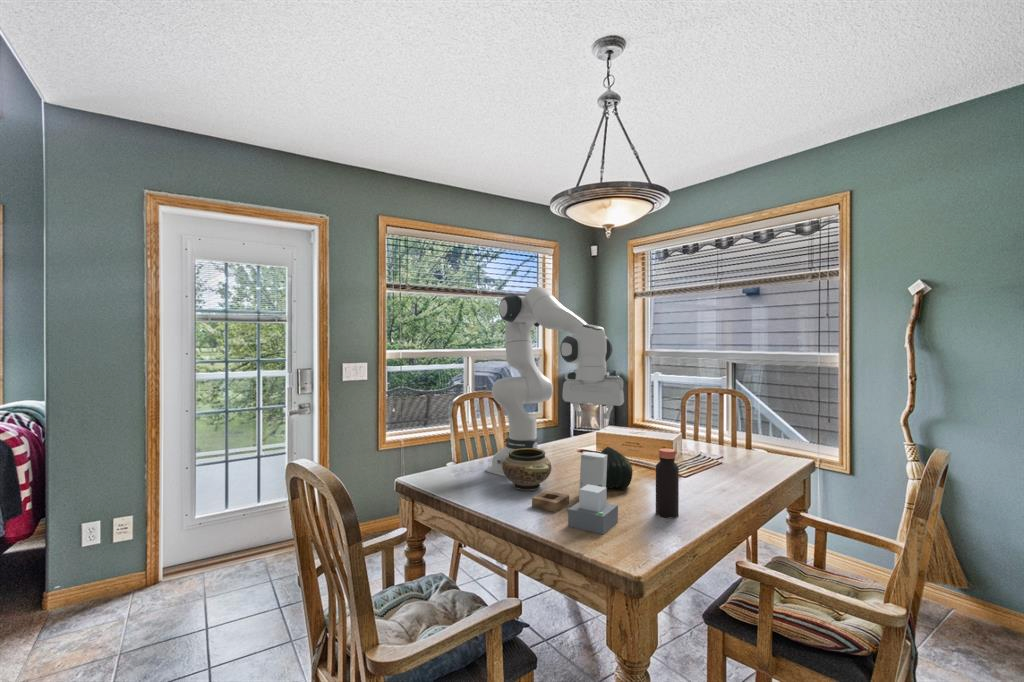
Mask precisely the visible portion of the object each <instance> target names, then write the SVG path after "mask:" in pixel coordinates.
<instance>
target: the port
mask: <svg viewBox="0 0 1024 682" xmlns="http://www.w3.org/2000/svg"><path fill="white" fill-rule="evenodd" d="M618 522H619V504H614V503H608V502H606V507H605V508H603V509H602V510H601V511H599V512H596V511H591V510H586V509H581V508H579V501H578V502H577V503H575V504H573V505H572V506H571V507H569V508H568V509H567V527H570V528H573V529H580V530H583V531H587V532H591V533H595V534H599V535H600V534H601V535H605V533H607V532H609V531H610V530H611V529H612V528H613V527H614V526H615V525H616V524H617V523H618Z"/></svg>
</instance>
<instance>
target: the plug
mask: <svg viewBox="0 0 1024 682" xmlns="http://www.w3.org/2000/svg"><path fill="white" fill-rule="evenodd" d="M607 490H608V489H607V488H606V487H601V486H595V485H589V484H587V485H586V486H584V487H582V488H581V489H580V488H579V492H578V494H579V495H578V498H579V499H578V500H579V501H578V502H579V508H581V509H586V510H591V511H596V512H599V511H601V510H602V509H603V508H605V507H606V503H608V502H607V500H608V499H607Z"/></svg>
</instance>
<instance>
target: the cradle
mask: <svg viewBox="0 0 1024 682" xmlns="http://www.w3.org/2000/svg"><path fill="white" fill-rule="evenodd" d="M568 504H569V505H570V495H569V494H564V493H560V492H554V491H551V490H544V491H542V492H540V493H538V494H536V495H535V496H533V497H531V507H532V508H534V507H536V508H535V509H538V508H540V510H543V509H545V510H544V511H548V510H549V512H552V511H553V513H558V512H560V511H562V510H563V509H564V508H566V507H567V506H569V505H568ZM559 510H560V511H559Z"/></svg>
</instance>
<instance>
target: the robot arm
mask: <svg viewBox="0 0 1024 682" xmlns="http://www.w3.org/2000/svg"><path fill="white" fill-rule="evenodd" d="M498 312H499V316H500V317H501V319H502V321H505V322H506V324H505V330H504V331H505V332H504V342H505V343H504V344H505V356H506V362H507V364H508V366H510V367H512V368H513V369H515V370H517V371H518V373H519V375H520V376H508V377H507V376H506V377H502V378H499V379H496V380H495V382H494V383H493V384H492V387H491V395H492V397H493V400H494V401H495V402H496V403H497V404H498V405H500V407H501V408H502V409H503V410H504V411H505V413H506V415H507V420H508V434H509V436H508V437H507V438H504V440H503V443H505V446H503V448H501V449H500V450H499V451H497V452H495V454H494V455H493V457H492V458H491V465H488V466H486V468H485V471H486V472H487V473H491V474H495V475H498V476H502V477H505V478H507V477H506V476H505V474H504V472H503V469H502V465H503V462H504V460H505V459H506V456H508V455H509V452H510V451H511V450H514V449H521V448H535V449H539V447H538V445H539V444H538V443H539V442H538V441H539V440H538V437H537V419H536V417H535V416H534V415H533V414H531V413H530V412H528V411H526V410H525V407H524V404H526V405H527V404H540V403H543V402H547V401H549V400H551V398H552V395H553V393H554V385H553V383H552V381H551V380H550V379H549V378H548V377H547V376H545V374H543V373H542V372H541V371H540V369H539V368H538V365H537V364H536V360H535V355H534V349H533V340H532V339H533V338H532V332H531V331H532V327H533V326H534V327H535V328H536V327H537V328H538V327H540V326H541V327H543V328H545V329H547V330H554V331H561V332H567V333H570V335H566V336H565V337H564V338H563V339H562V341H561V343H560V348H559V350H560V355H561V357H562V359H563V360H564V361H565V362H566V363H568V364H569V363H570V364H578V369H574V370H573V371H569V372H566V373H564V379H565V381H564V382H563V385H562V400H563V401H564V402H566V403H572V407H573V409H574V411H575V416H576V417H583V410H580V407H579V406H580V404H590V405H592V404H593V405H603V406H605V407H606V409H607V410H606V412H603V413H602V419H604V420H610V413H611V412H612V410H613V409H614V406H615V407H616V406H617V407H619V406H622V405H623V404H624V402H625V394H624V386H625V385H624V384H625V383H624V379H623V378H622V377H620V376H619V375H610V374H609V375H608V374H607V367H608V366H607V362H608V360H609V359H610V357H611V356H612V354H613V344H612V342H611V340H610V339H609V337H608V336H607V335H606V332H605V328H604V327H603V326H600V325H597V324H591V323H590V324H589V323H587V322H586V321H585V320H584V319H583V318H582V317H580V316H579V315H577V314H576V313H575V312H573V311H572V310H570V309H569V308H567V307H565V306H564V305H563V304H562V303H561V302H560V301H559V300H557V298H556V297H555V296H554V295H553V294H552V293H551V292H549V291H548V290H547V289H545V288H543V286H542V287H541V286H533V287H532V288H530V289H529V290H528V291H527V292H526V295H515V294H514V295H513V294H512V295H507V296H504V297H503V298H502V299H501V300H500V302H499V305H498Z"/></svg>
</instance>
